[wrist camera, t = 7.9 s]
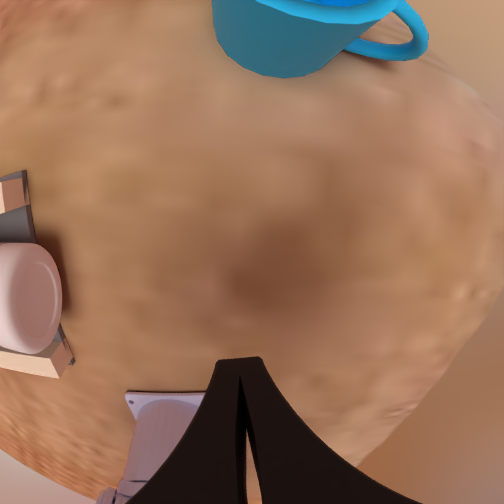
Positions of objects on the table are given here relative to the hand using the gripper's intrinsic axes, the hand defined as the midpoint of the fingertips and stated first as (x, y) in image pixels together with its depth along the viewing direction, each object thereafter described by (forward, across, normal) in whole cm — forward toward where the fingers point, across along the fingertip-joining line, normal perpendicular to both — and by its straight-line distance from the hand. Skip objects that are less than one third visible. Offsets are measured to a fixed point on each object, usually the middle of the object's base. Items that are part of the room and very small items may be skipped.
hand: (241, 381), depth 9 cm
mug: (+11, -6, -15) cm, 19 cm away
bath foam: (+6, +12, 0) cm, 13 cm away
